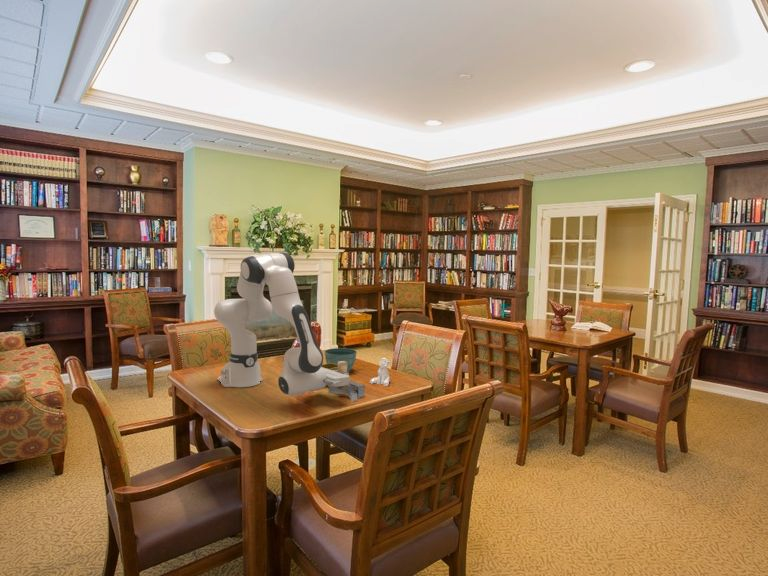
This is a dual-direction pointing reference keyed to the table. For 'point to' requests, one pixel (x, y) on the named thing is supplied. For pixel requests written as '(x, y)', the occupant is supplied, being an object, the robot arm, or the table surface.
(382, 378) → the sitting furry creature
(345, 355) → the flower pot
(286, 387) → the robot arm
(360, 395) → the crossed grey wooden bars
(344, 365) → the dowel
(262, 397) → the table surface
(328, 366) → the flower pot
